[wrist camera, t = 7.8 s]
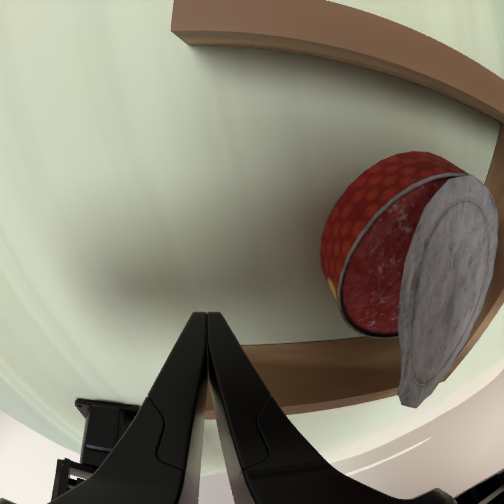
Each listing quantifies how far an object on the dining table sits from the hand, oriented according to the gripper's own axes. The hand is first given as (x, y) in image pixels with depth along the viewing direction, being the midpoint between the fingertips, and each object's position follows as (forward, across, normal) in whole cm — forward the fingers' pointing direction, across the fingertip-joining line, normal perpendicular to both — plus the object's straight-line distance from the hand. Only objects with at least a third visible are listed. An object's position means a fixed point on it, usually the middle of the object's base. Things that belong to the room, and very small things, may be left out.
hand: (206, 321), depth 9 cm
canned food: (+6, -10, 0) cm, 12 cm away
